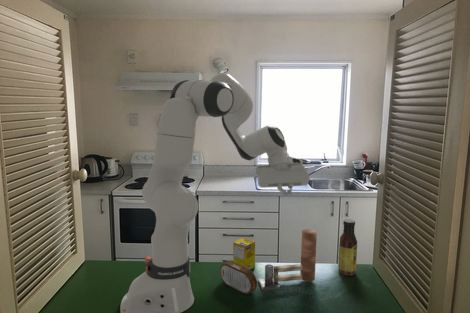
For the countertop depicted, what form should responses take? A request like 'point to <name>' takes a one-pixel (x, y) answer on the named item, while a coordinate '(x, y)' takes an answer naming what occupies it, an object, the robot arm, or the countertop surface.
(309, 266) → the wooden dowel roller
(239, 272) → the tin
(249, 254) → the supplement box
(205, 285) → the countertop surface
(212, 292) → the countertop surface
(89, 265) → the countertop surface
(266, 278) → the hinge post
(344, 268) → the sauce bottle
